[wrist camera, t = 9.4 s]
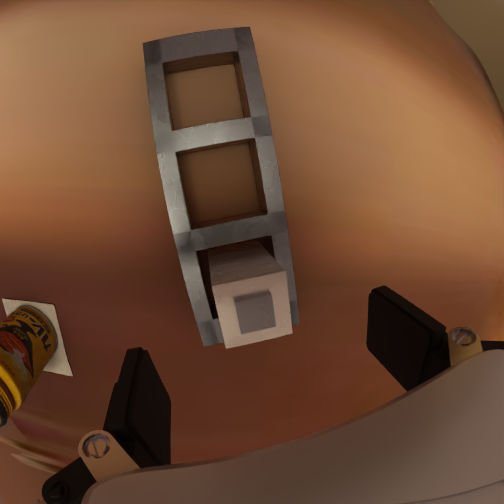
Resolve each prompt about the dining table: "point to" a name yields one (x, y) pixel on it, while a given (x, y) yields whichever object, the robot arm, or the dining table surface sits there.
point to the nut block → (249, 293)
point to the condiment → (27, 351)
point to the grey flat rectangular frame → (212, 136)
